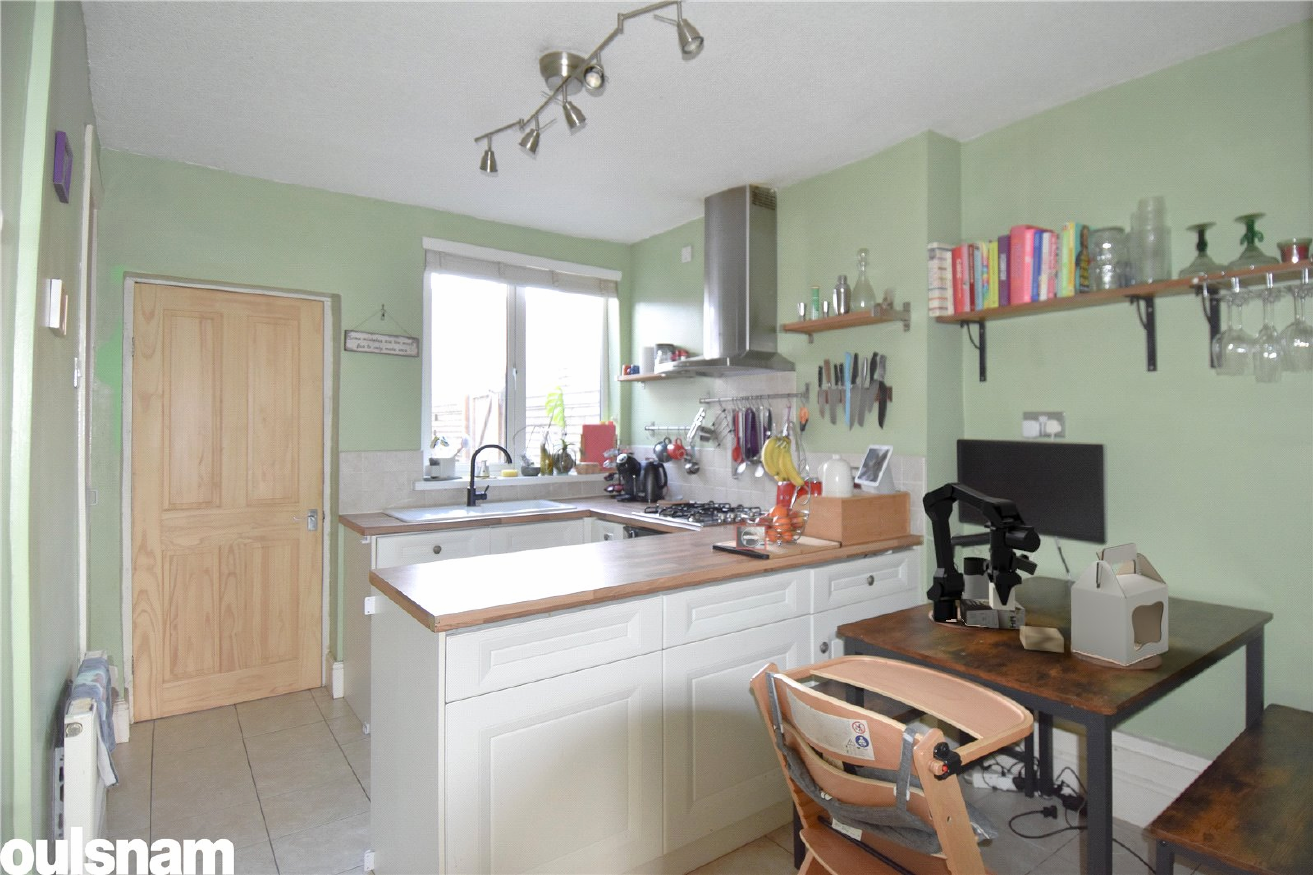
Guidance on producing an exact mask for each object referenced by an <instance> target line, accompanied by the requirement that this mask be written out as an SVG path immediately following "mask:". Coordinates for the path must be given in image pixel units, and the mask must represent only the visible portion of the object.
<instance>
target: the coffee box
mask: <svg viewBox="0 0 1313 875" xmlns="http://www.w3.org/2000/svg"><path fill="white" fill-rule="evenodd" d="M960 616H961V618H962V619H963V620H964V622H965V623H966V624H967V625H980V626H986V627H989V628H990V629H1006V630H1007V629H1009V630H1020V626H1026V608H1024V607H1023V606H1022V605H1021V604H1020V603H1019V602H1018V601H1016V600H1015V610H998V609H993V608H992V607H991V606H990V604H989V600H983V599H963V598H961V600H959V617H960ZM964 622H963V623H964Z"/></svg>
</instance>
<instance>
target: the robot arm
mask: <svg viewBox="0 0 1313 875" xmlns="http://www.w3.org/2000/svg"><path fill="white" fill-rule="evenodd" d="M959 501H960V502H963V503H965V504H967V505H968V506H970V507H973V508H975V509H977V510H978V511H980V514H981V515H982V516H983V517H984V518H985V519H986V520H988V522H987V523H985V524H984V525H983V528H985V529H989V547H988V553H989V559H988V560H986V561H985V562H984V570H985V571H988V569H989V572H986V574H987V576H988V579H989V583H993V584H994V586H995V589H996V591H997V594H998V596H999V599H1000V602H1001V604H1002V605H1003V606H1006V605H1007V602H1008V599H1009V595H1010V592H1011V589H1012V588H1013V587H1014V588H1015V586H1018V585H1023V581H1022V580H1023V579H1022V578H1023V577H1022V576H1021V575H1020V574H1019V573H1018V572H1017V571H1018V570H1019V571H1021V572H1025V573H1027V574H1028V575H1030V576H1034V575H1035V573H1036V571H1037V568H1038V566H1039V565H1038V563H1036V562H1034V561H1033V560H1030V556H1029V555H1028V554H1025V553H1021V554H1019V555H1017V552H1015V550H1016V551H1020V552H1026V553H1031V554H1032V553H1035V552H1038V549H1039V548H1040V547H1041V544H1042V543H1041V541H1042V540H1041V538H1040V535H1039V534H1038V532H1037V531H1035V526H1033V525H1031V526H1030V525H1028V526H1027V524H1026V522H1025V519H1024V518H1023V517H1022V514H1021V513H1020V511H1019V510H1018V508H1017V506H1016V505H1017V504H1016V503H1015V502H1014V501H1012V500H1009V499H1006V498H1005V499H1004V498H998V497H992V496H989V495H987V494H984V493H982V492H981V491H978V490H975V489H973V488H972V487H969V486H967V485H965V484H964V483H962V482H961V481H960V482H959V481H957V482H956V481H955V482H947V483H946V484H944V485H942V486H940V487H938V488H936V489H933V490H932V491H928V492H926V493H925V494H924V496H922V504H923V505H922V506H923V509H924V512H925V513H924V514H925V515H926V516H927V517H928V518H929V520H930V521H931V522H930V523H931V528H932V536H933V542H934V543H933V544H934V551H935V559H936V560H935V561H936V570H935V571H934V574H933V577H932V585H931V586H930V588H929V589H928V590H927V591H926V597H927V600H929V601H932V614H931V618H932V620H933V621H934V622H937V623H939V622H940V623H942V622H941V621H946V620H951V619H957V620H958V619H959V618H958V616H959V613H958V612H959V608H958V607H959V606H958V605H957V602H956V601H960V600H961V599H962V594H963V592H964V586H965V584H964V575H963V573H964V572H959V570H958V571H957V567H956V565H955V564H954V562H955V559H954V558H955V557H954V551H953V543H952V535H951V527H950V518H951V515H952V513H953V511H954V504H955V503H956V502H959Z"/></svg>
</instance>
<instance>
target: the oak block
mask: <svg viewBox="0 0 1313 875" xmlns="http://www.w3.org/2000/svg"><path fill="white" fill-rule="evenodd" d="M1019 639H1020V642H1021V644H1022V646H1023V647H1024V649H1025V650H1032V651H1033V650H1034V651H1042V652H1043V651H1045V652H1056V653H1065V646H1064V645H1065V638H1064V637H1063V635H1062V634H1061V632H1059V629H1057V628H1054V627H1043V626H1042V627H1041V626H1040V627H1039V626H1029V625H1027V626H1026V625H1025V626H1020V629H1019Z"/></svg>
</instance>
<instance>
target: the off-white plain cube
mask: <svg viewBox="0 0 1313 875" xmlns="http://www.w3.org/2000/svg"><path fill="white" fill-rule="evenodd" d="M1015 601H1016V588H1015V586H1014V587H1013V588H1012V589H1011V592H1010V595H1009V599H1008V602H1007V605H1006V606H1003V605H1002V604H1001V602H1000V599H999V596H998V594H997V591H996V589H995V586H994V584H993V583H990V582H989V604H990V606H991V607H992V608H993V609H998V610H1015Z"/></svg>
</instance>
